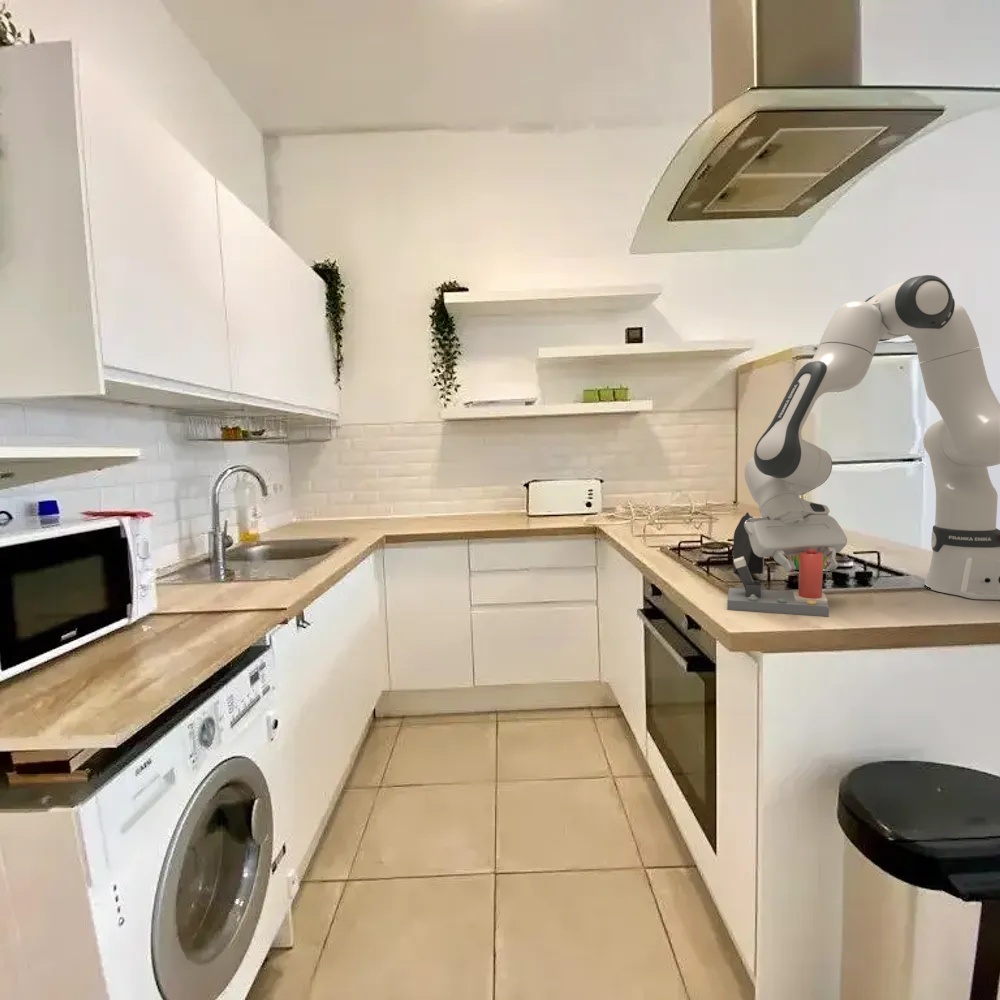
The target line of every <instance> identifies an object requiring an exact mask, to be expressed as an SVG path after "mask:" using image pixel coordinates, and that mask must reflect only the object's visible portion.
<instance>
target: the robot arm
mask: <svg viewBox="0 0 1000 1000" xmlns="http://www.w3.org/2000/svg"><path fill="white" fill-rule="evenodd" d="M951 290H952V289H950V287H949V286H948V284H947V283H946V281H944V280H943V279H942V278H941V277H938V276H936V275H932V274H931V275H929V274H926V275H924V274H923V275H918V276H914V277H911V278H909V279H907V280H903V281H900V282H897V283H896V284H893V285H890V286H888V287H887V288H885V289H884V290H881V292H878V293H877V294H875V295H872V296H870V297H868V298H867V299H865V300H863V301H862V300H852V301H848V302H845V303H844V304H841V305H840V306H839V307H838V308H837V309H836V311H834V314H833V315H832V317H831V319H830V320H829V322H828V323H827V325H826V328H825V330H824V332H823V334H822V336H821V338H820V341H819V343H818V347H817V349H816V351H815V353H814V355H813V357H812V359H811V360H810V361H809V362H807V363H806V364H804V365H803V366H802V367H801V368H800V370H799V371H798V372H797V374H796V375H795V376H794V377H793V380H792V382H791V383H790V386H789V388H788V390H786V391H787V392H786V393H785V396H784V397H783V399H782V401H781V402H780V403H781V404H780V405H779V407H778V409H777V411H776V413H775V415H774V417H773V419H772V420H771V422H770V424H769V426H768V427H767V429H766V430H765V432H764V433H762V435H761V437H759V439H758V441H757V442H756V445H755V446H754V453H753V456H752V458H750V459H749V460H748V461H747V463H746V464H745V467H744V479H745V483H746V486H747V489H748V490H749V494H750V495H751V497H752V499H753V501H754V502H755V503H756V504H757V505H758V509H759V514H760V515H761V517H754V518H749V519H748V520H746V521H745V523H744V527H745V529H746V531H747V533H748V534H749V540H750V543H751V547H752V549H753V552H754V554H756V555H757V556H758V557H764V558H767V557H769V558H771V557H772V558H773V560H774V561H775V562H776V563H777V564H779V565H780V566H782V568H783V569H784V571H785V573H794V572H795V569H796V566H795V565H794V562H793V561H789V560H788V555H800V552H803V551H806V549H817V552H820V553H824V555H825V556H826V557H827V556H828V560H827V561H826V562H825V563H824V564H825V566H826V567H827V569H828V570H830V569H831V570H836V569H837V568H838V566H839V564H838V562H837V560H836V555H837V553H840V552H842V550H843V549H844V548H845V547H846V546H847V543H848V538H847V535H846V533H845V532H844V530H843V529H842V527H841V525H840V524H839V522H838V520H836V519H835V517H833V516H831V515H829V513H830V509H829V507H828V506H827V505H825V504H821V503H817V502H816V503H815V502H813V501H808V500H806V499H802V498H800V496H802V495H805V494H807V493H809V492H811V491H813V490H815V489H816V488H819V487H820V486H822V485H823V484H825V482H826V481H827V480H828V479H829V477H830V475H831V473H832V469H833V461H832V457H831V456H830V454H829V452H827V451H826V450H824V449H822V448H821V447H819V446H817V445H816V444H813V443H811V442H808V441H807V440H805V439H803V437H802V430H803V427H804V425H805V423H806V421H807V419H808V418H809V415H810V414H811V412H812V409H813V408H814V405H815V404H816V401H817V400H818V399H819V398H820V397H821V396H822V395H824V394H826V393H842V392H845V391H849V390H851V389H854V388H855V387H856V386H858V385H859V384H861V383H862V381H863V379H864V378H865V377H866V375H867V373H868V371H869V369H870V367H871V366H870V365H871V363H872V361H873V358H874V355H875V352H876V349H877V346H878V343H879V342H885V341H889V340H891V339H897V338H901V337H905V336H908V337H909V338H911V340H912V341H913V343H914V344H915V346H916V347H915V348H916V353H917V359H918V363H919V367H920V371H921V376H922V379H923V384H924V388H925V392H926V396H927V397H928V400H929V401H930V402H931V403H933V405H934V407H935V408H936V410H937V411H938V413H939V415H940V416H941V418H942V419H941V420H938V421H936V422H934V423H932V424H931V425H930V426H929V427H928V428H927V430H926V431H925V433H924V435H923V440H922V442H923V444H922V445H923V447H924V449H925V451H926V453H927V454H928V457H929V460H930V465H931V471H932V475H933V480H934V486H935V520H934V521H935V522H934V523H935V524H934V525H933V526H932V531H931V542H930V543H931V544H930V545H931V546H930V547H931V549H932V554H931V559H930V560H931V561H930V564H929V569H928V572H927V575H926V579H925V581H924V583H926V584H927V585H928V586H929V587H930V588H931V589H930V590H932V591H936V592H940V593H943V594H948V595H953V596H959V597H962V598H967V599H971V600H998V601H999V600H1000V529H999V528H997V515H998V500H999V499H998V498H999V497H998V496H999V495H998V492H997V490H996V488H995V487H994V485H993V484H992V481H991V477H990V474H989V470H988V468H989V467H994V466H998V465H1000V402H999V400H998V398H997V396H996V395H995V393H994V391H993V389H992V387H991V385H990V381H989V379H988V376H987V371H986V367H985V363H984V359H983V355H982V350H981V347H980V342H979V339H978V336H977V333H976V331H975V330H976V329H975V327H974V324H973V322H972V321H971V318H970V317H969V314H968V313H967V311H966V309H965V308H964V307H963V306H962V305H960V304H957V303H955V298H954V296H953V292H952V291H951ZM786 556H787V558H786Z"/></svg>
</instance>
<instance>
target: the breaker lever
mask: <svg viewBox="0 0 1000 1000" xmlns="http://www.w3.org/2000/svg"><path fill="white" fill-rule="evenodd" d="M734 564H735V567H736V569H737V571H738V572H737V573H738V575H739V577H740V580H741V583H742V585H743V589H745V590H746V585H755V583H754V581H755V580H754V579H753V577H752V574H750V571H749V569H748V566H747V564H746V561H745V558H744V556H743V557H740V558H737V559H734ZM753 580H754V581H753Z"/></svg>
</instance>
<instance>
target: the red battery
mask: <svg viewBox="0 0 1000 1000" xmlns="http://www.w3.org/2000/svg"><path fill="white" fill-rule="evenodd" d="M823 573H824V572H823V553H820V552H817V549H806V551H803V552H800V562H799V571H798V591H797V592H798V595H799V596H801V597H804V598H812V599H817V598H821V597H822V593H823V577H824V576H823V575H824V574H823Z"/></svg>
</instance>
